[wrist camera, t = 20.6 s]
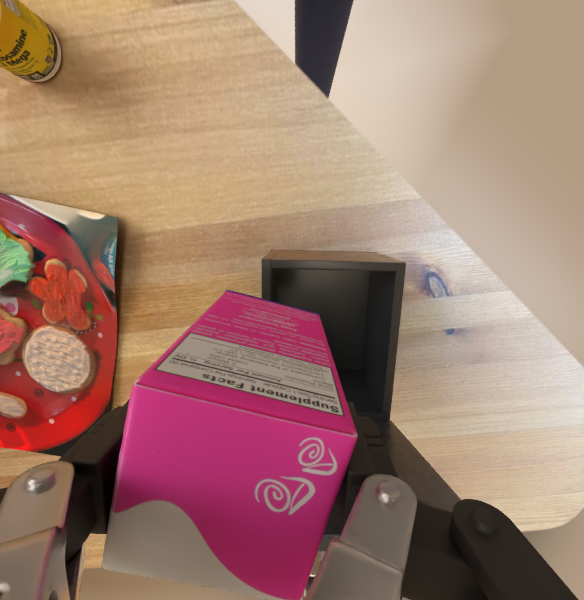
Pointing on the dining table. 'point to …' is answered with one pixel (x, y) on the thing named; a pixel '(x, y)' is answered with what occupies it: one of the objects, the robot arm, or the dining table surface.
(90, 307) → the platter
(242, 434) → the supplement box
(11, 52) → the pill bottle
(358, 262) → the bin
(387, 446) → the bin lid
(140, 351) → the dining table surface
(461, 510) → the robot arm
